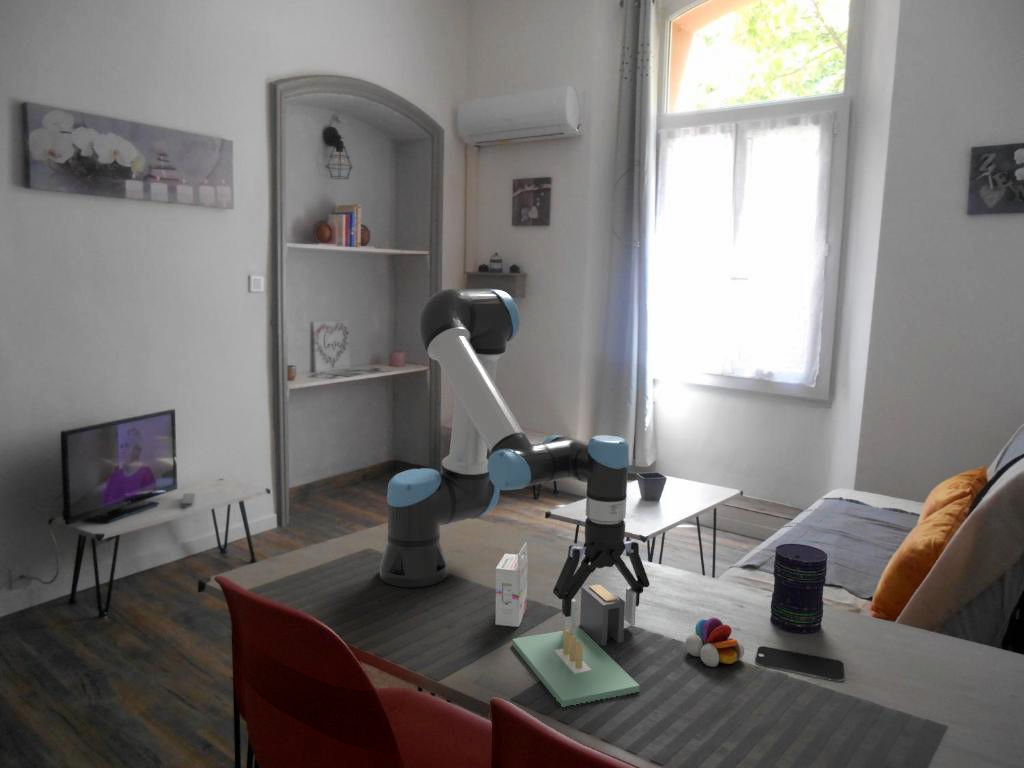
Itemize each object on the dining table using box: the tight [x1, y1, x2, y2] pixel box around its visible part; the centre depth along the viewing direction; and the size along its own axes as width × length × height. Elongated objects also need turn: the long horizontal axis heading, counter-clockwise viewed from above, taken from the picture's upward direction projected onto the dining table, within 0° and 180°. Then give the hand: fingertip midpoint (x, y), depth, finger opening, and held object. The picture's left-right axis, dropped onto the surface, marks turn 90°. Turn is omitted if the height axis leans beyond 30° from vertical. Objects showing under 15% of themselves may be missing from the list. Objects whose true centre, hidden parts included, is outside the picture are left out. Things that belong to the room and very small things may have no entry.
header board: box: [511, 627, 640, 708], centre depth 137 cm, size 22×14×6 cm, turn 21°
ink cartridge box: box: [494, 541, 529, 628], centre depth 155 cm, size 9×5×15 cm, turn 168°
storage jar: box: [769, 543, 828, 636], centre depth 155 cm, size 10×10×15 cm
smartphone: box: [754, 645, 846, 682], centre depth 140 cm, size 8×1×15 cm
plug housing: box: [579, 583, 625, 647], centre depth 150 cm, size 9×5×8 cm, turn 21°
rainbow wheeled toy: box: [684, 617, 745, 668], centre depth 142 cm, size 8×10×7 cm
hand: (600, 626), depth 150 cm, fingers open, 12 cm apart
